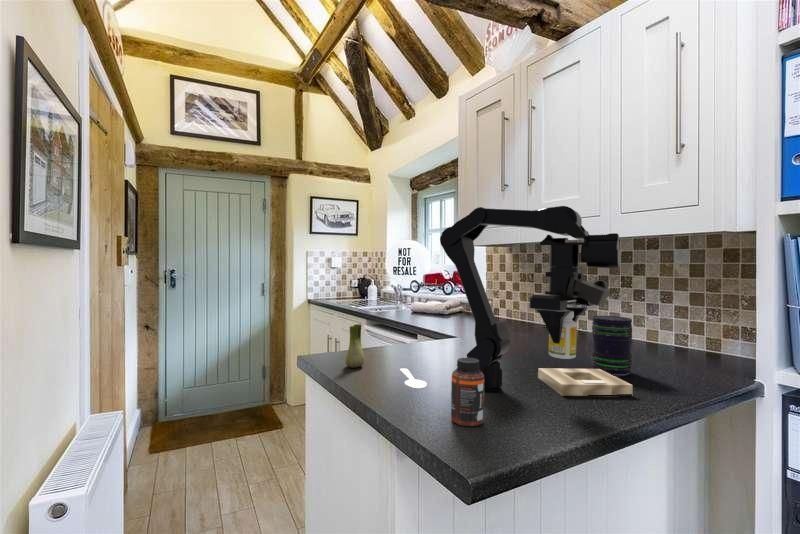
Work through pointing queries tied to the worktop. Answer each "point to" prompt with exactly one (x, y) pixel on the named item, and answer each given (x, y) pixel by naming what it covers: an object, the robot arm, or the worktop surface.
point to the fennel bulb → (355, 348)
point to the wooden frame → (583, 382)
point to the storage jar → (612, 344)
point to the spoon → (413, 380)
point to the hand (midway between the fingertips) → (562, 341)
